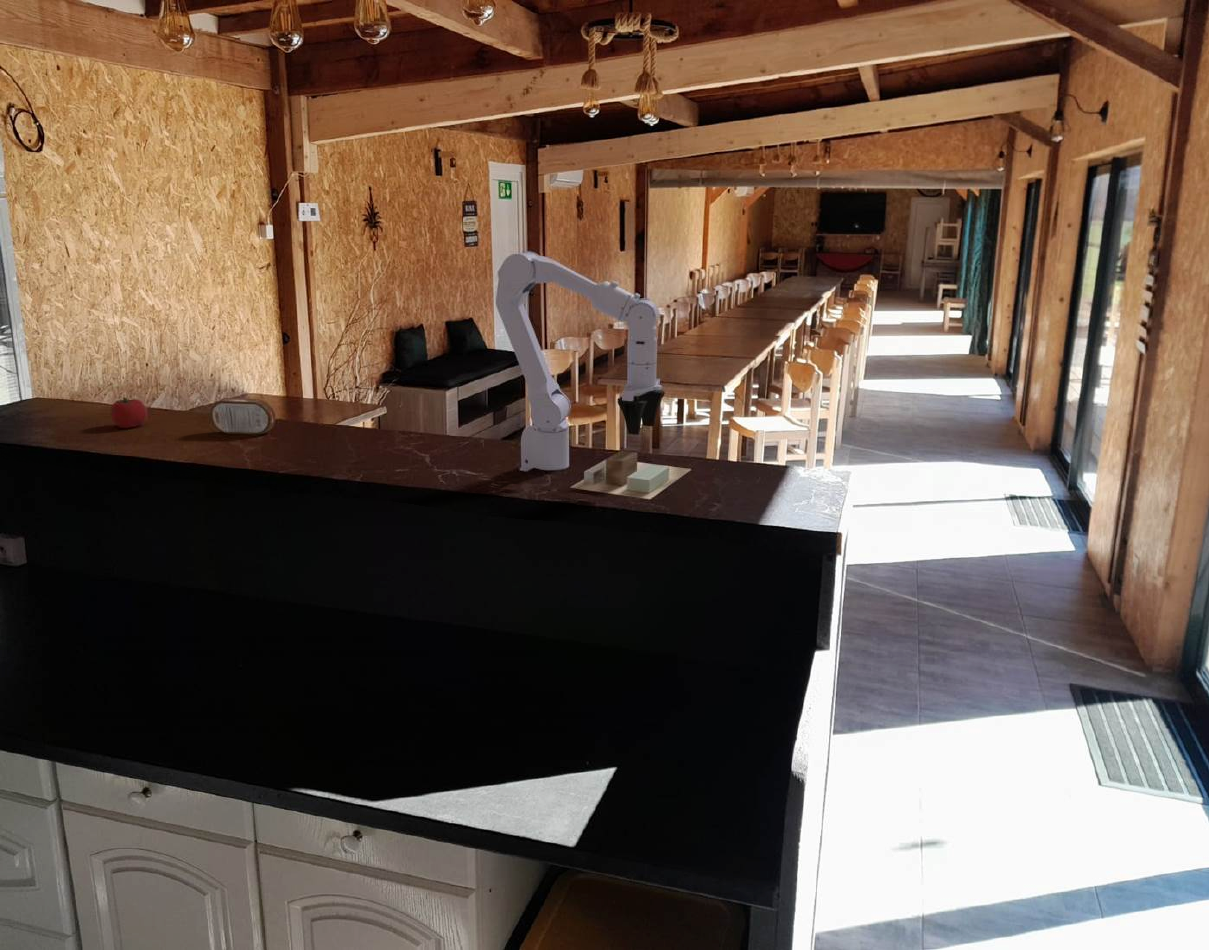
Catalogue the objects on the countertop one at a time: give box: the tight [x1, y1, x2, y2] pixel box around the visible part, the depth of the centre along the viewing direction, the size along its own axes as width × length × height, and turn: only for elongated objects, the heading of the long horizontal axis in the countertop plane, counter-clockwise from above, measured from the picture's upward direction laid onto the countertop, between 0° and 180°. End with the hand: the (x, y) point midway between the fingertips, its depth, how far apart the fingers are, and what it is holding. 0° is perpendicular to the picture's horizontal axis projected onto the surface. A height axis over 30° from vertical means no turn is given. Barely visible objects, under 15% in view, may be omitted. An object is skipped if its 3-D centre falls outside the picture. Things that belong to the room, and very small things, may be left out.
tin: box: [210, 397, 276, 436], centre depth 221 cm, size 15×3×8 cm, turn 84°
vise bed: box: [569, 461, 692, 502], centre depth 185 cm, size 16×22×1 cm
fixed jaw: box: [583, 459, 606, 486], centre depth 185 cm, size 2×10×2 cm, turn 155°
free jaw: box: [627, 463, 669, 493], centre depth 180 cm, size 5×10×2 cm, turn 155°
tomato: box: [110, 397, 149, 429], centre depth 228 cm, size 8×8×7 cm
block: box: [605, 450, 638, 487], centre depth 183 cm, size 4×7×5 cm, turn 155°
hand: (641, 429), depth 188 cm, fingers open, 7 cm apart
